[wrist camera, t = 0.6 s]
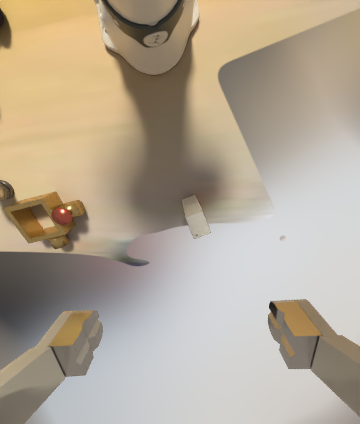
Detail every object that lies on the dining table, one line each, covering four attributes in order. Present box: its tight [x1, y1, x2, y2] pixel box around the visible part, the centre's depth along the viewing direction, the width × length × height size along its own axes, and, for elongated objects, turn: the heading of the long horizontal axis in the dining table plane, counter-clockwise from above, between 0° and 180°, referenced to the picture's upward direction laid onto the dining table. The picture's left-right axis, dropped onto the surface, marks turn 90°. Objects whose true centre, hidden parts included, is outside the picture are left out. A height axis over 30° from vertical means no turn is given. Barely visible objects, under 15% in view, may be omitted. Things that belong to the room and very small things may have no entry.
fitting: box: [2, 192, 85, 249], centre depth 45 cm, size 14×15×6 cm
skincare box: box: [182, 195, 211, 239], centre depth 43 cm, size 6×4×12 cm
